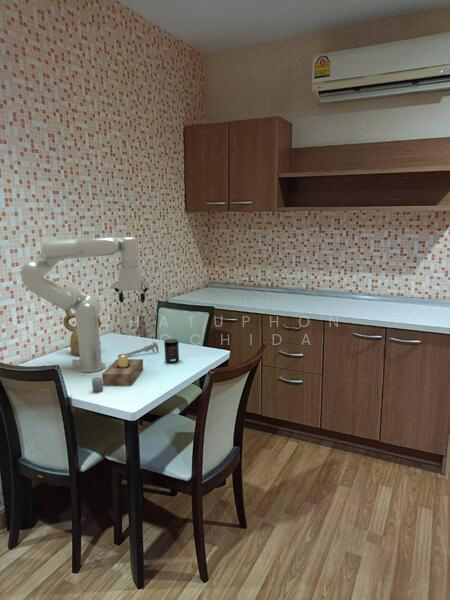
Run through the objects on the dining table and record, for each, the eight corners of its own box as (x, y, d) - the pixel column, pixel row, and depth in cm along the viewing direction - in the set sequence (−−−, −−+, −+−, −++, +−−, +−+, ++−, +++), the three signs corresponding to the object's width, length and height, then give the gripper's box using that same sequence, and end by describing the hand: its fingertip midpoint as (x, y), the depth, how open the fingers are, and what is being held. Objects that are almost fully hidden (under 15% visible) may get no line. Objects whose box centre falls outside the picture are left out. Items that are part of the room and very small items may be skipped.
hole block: (103, 385, 193) (102, 373, 192) (117, 369, 213) (116, 359, 212) (131, 385, 192) (130, 374, 191) (143, 369, 212) (142, 359, 211)
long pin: (118, 378, 201) (116, 356, 199) (121, 375, 205) (119, 353, 203) (127, 378, 200) (125, 356, 199) (129, 375, 204) (128, 353, 202)
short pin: (91, 392, 185) (90, 380, 184) (94, 389, 189) (94, 377, 188) (101, 392, 185) (100, 380, 184) (104, 389, 189) (103, 377, 188)
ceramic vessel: (99, 356, 234) (95, 308, 229) (60, 357, 234) (56, 308, 230) (108, 347, 250) (104, 301, 246) (72, 348, 251) (68, 302, 246)
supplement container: (176, 358, 227) (175, 338, 225) (181, 362, 221) (180, 341, 219) (163, 360, 224) (162, 340, 223) (167, 364, 218) (166, 343, 216)
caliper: (157, 352, 239) (157, 340, 238) (158, 353, 238) (157, 341, 237) (118, 358, 231) (117, 346, 230) (118, 358, 230) (117, 346, 229)
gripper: (108, 265, 207) (111, 303, 210) (146, 265, 205) (148, 303, 208) (113, 264, 214) (116, 300, 217) (150, 263, 213) (152, 300, 216)
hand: (132, 302), depth 213 cm, fingers open, 9 cm apart
